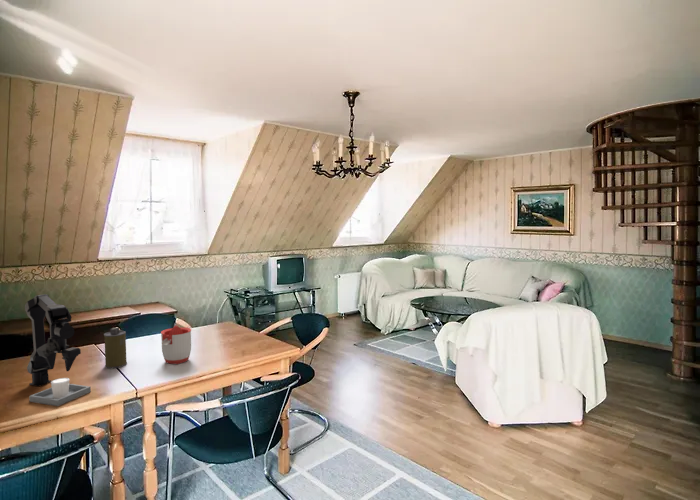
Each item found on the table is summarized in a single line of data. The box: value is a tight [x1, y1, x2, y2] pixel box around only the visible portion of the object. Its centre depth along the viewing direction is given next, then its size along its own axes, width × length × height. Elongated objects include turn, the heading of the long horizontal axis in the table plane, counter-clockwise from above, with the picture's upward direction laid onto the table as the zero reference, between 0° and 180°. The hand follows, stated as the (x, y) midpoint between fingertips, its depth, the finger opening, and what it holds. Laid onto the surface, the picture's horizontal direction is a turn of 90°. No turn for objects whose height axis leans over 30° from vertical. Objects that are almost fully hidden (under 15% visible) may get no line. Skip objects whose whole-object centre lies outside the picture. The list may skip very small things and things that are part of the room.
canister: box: [103, 327, 128, 369], centre depth 235 cm, size 11×10×20 cm
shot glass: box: [50, 377, 70, 399], centre depth 193 cm, size 7×7×7 cm
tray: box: [28, 383, 92, 407], centre depth 193 cm, size 16×16×2 cm
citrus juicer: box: [160, 325, 192, 365], centre depth 240 cm, size 16×17×20 cm
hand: (59, 370), depth 192 cm, fingers open, 9 cm apart
